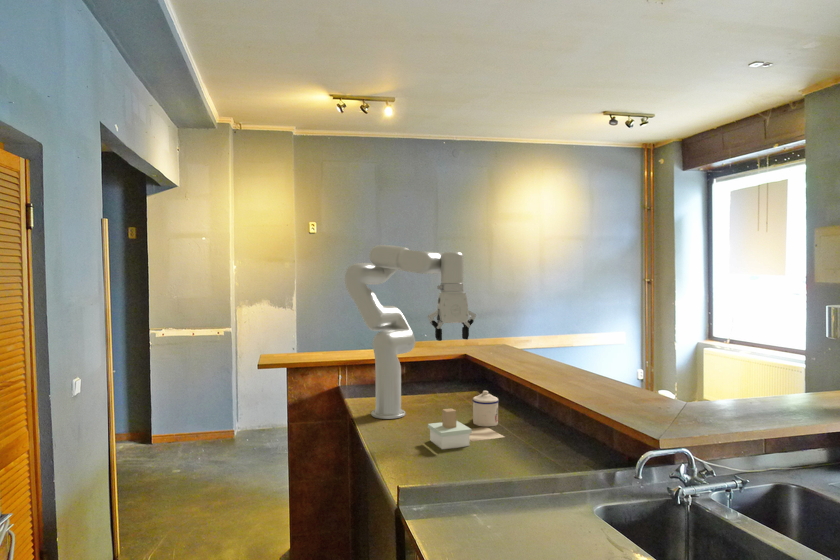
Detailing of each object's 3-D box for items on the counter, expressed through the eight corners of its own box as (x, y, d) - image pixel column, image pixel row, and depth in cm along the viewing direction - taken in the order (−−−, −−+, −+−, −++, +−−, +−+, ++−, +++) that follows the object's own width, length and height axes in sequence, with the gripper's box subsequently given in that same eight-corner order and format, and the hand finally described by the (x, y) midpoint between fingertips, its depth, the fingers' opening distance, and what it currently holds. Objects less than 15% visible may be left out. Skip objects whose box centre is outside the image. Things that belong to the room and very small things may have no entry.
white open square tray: (430, 442, 159) (430, 428, 159) (456, 439, 163) (456, 424, 163) (442, 451, 151) (442, 436, 151) (469, 447, 154) (469, 432, 154)
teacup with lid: (501, 428, 175) (501, 393, 175) (475, 428, 174) (475, 394, 174) (493, 418, 187) (493, 386, 187) (468, 419, 186) (468, 386, 186)
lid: (427, 427, 160) (427, 407, 160) (456, 424, 163) (457, 404, 163) (441, 436, 150) (441, 415, 150) (471, 433, 154) (471, 412, 154)
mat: (454, 432, 170) (454, 430, 170) (486, 428, 174) (486, 426, 174) (471, 443, 159) (471, 441, 159) (505, 438, 163) (505, 437, 163)
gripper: (432, 289, 166) (432, 342, 166) (480, 288, 172) (480, 339, 172) (424, 288, 173) (424, 339, 173) (470, 288, 179) (470, 337, 179)
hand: (452, 339), depth 173 cm, fingers open, 9 cm apart
